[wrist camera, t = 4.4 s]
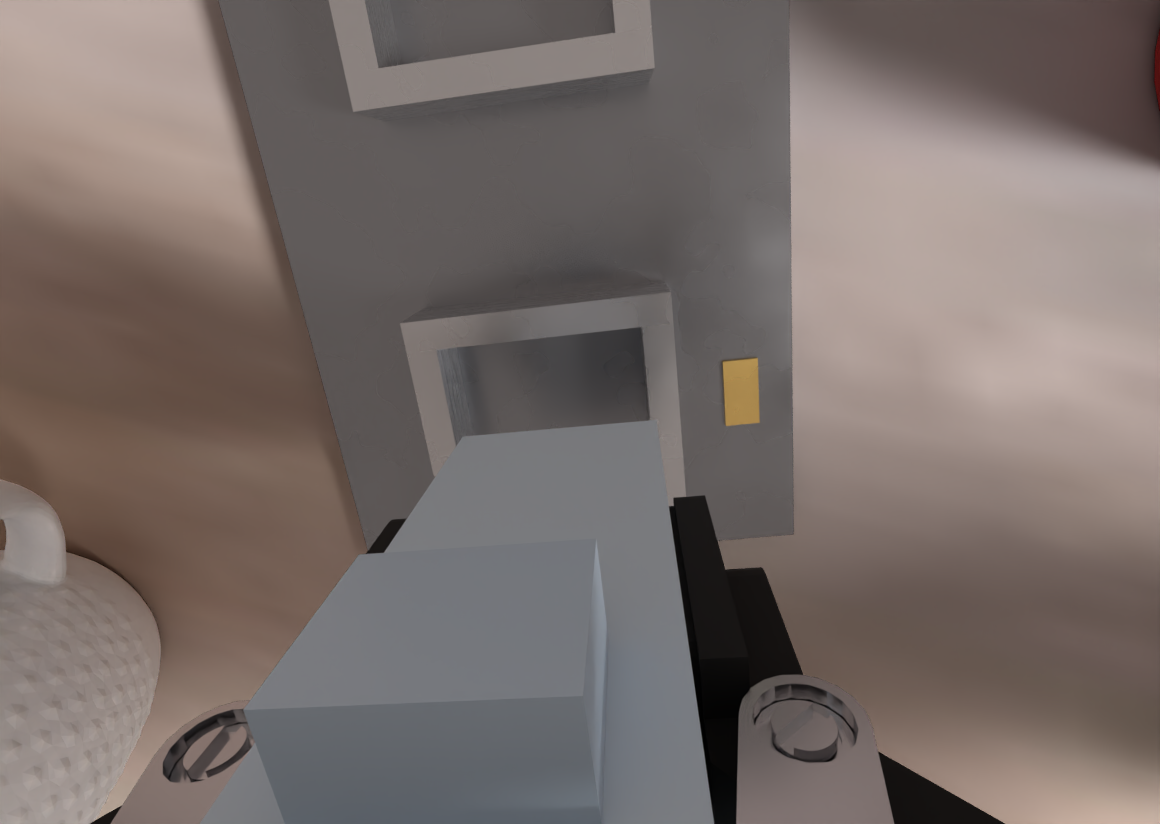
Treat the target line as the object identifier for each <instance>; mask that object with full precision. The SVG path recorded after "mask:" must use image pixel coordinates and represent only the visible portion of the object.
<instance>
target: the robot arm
mask: <svg viewBox="0 0 1160 824" xmlns="http://www.w3.org/2000/svg"><path fill="white" fill-rule="evenodd" d="M673 504H674V506H669V511H670V518H671V525H672V532H673V539H674V546H675V553H676V560H677V567H678V574H679V581H680V588H681V595H682V602H683V609H684V616H685V623H686V630H687V637H688V644H689V651H690V658H691V665H692V672H693V679H694V686H695V693H696V700H697V707H698V714H699V721H700V728H701V735H702V742H703V749H704V756H705V763H706V770H707V777H708V784H709V791H710V798H711V805H712V812H713V819H714V824H1005V823H1003V822H1001V821H999V820H998V819H996V818H994V817H992V816H991V815H989V814H987V813H985V812H984V811H982V810H980V809H978V808H977V807H975V806H973V805H971V804H969V803H968V802H966V801H964V800H962V799H961V798H959V797H957V796H955V795H954V794H952V793H950V792H948V791H947V790H945V789H943V788H941V787H940V786H938V785H936V784H934V783H932V782H931V781H929V780H927V779H925V778H924V777H922V776H920V775H918V774H917V773H915V772H913V771H911V770H910V769H908V768H906V767H904V766H903V765H901V764H899V763H897V762H896V761H894V760H892V759H890V758H888V757H887V756H885V755H883V754H881V753H880V752H878V749H877V744H876V740H875V736H874V731H873V727H872V725H871V722H870V720H869V718H868V715H867V713H866V711H865V710H864V709H863V708H862V706H861V705H860V704H859V703H858V702H857V701H856V699H855V698H854V697H853V696H851V695H850V694H848V693H847V692H845V691H844V690H842V689H841V688H840V687H838V686H836V685H834V684H832V683H829V682H827V681H824V680H822V679H819V678H815V677H810V676H804V675H803V673H802V670H801V668H800V665H799V662H798V660H797V657H796V654H795V652H794V649H793V646H792V644H791V641H790V638H789V635H788V633H787V630H786V627H785V625H784V622H783V619H782V617H781V614H780V611H779V609H778V606H777V603H776V601H775V598H774V595H773V593H772V590H771V587H770V585H769V582H768V579H767V577H766V574H765V572H764V570H763V569H762V568H761V567H760V568H745V569H729V570H725V567H724V564H723V560H722V556H721V553H720V549H719V545H718V541H717V538H716V534H715V530H714V527H713V523H712V519H711V515H710V512H709V508H708V504H707V501H706V497H705V495H702V496H689V497H676V498H673ZM406 519H407V518H406ZM406 519H393V520H391V521H390V522H389V523H388V524H387V525H386V527H385V528H384V529H383V531H382V532H381V534H380V535H379V536H378V538H377V539H376V540H375V542H374V543H373V545H372V546H371V547H370V549H369V550H368V552H367V553H366V554H374V553H384V552H385V550H386V549H387V547H388V546H389V544H390V543H391V542H392V540H393V539H394V537H395V536H396V534H397V533H398V531H399V530H400V528H401V527H402V525H403V524H404V522H405V521H406ZM249 701H250V700H246V701H236V702H232V703H229V704H225V705H221V706H218V707H216V708H214V709H212V710H210V711H208V712H205V713H203V714H201V715H199V716H198V717H196V718H195V719H193V720H192V721H190V722H188V723H187V724H185V725H184V726H182V727H181V728H180V729H179V730H178V731H177V732H175V733H174V734H173V735H172V736H171V737H170V738H168V739H167V740H166V742H165V743H164V744H163V745H162V747H161V748H160V749H159V750H158V751H157V753H156V754H155V755H154V757H153V758H152V760H151V762H150V763H149V765H148V766H147V768H146V769H145V771H144V772H143V774H142V775H141V777H140V779H139V780H138V782H137V783H136V785H135V786H134V788H133V789H132V791H131V793H130V794H129V796H128V797H127V799H126V800H125V802H124V803H123V805H122V806H120V807H118V808H116V809H115V810H113V811H111V812H109V813H108V814H106V815H104V816H102V817H101V818H99V819H97V820H95V821H94V822H92V823H90V824H200V823H201V821H202V820H203V818H204V817H205V815H206V814H207V812H208V811H209V809H210V808H211V806H212V805H213V803H214V802H215V801H216V799H217V798H218V796H219V795H220V793H221V792H222V790H223V789H224V787H225V786H226V784H227V783H228V781H229V780H230V778H231V777H232V776H233V774H234V773H235V771H236V770H237V768H238V767H239V765H240V764H241V762H242V761H243V759H244V758H245V756H246V755H247V753H248V752H249V751H250V749H251V748H252V746H253V745H254V743H255V741H254V738H253V736H252V733H251V730H250V728H249V725H248V722H247V719H246V717H245V714H244V711H243V709H244V708H245V707H246V705H247V704H248V703H249Z"/></svg>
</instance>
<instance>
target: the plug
mask: <svg viewBox="0 0 1160 824" xmlns="http://www.w3.org/2000/svg"><path fill="white" fill-rule="evenodd" d="M243 711H244V714H245V717H246V719H247V722H248V725H249V728H250V730H251V733H252V736H253V738H254V741H255V743H254V745H253V746H252V748H251V749H250V751H249V752H248V753H247V755H246V756H245V758H244V759H243V761H242V762H241V764H240V765H239V767H238V768H237V770H236V771H235V773H234V774H233V776H232V777H231V778H230V780H229V781H228V783H227V784H226V786H225V787H224V789H223V790H222V792H221V793H220V795H219V796H218V798H217V799H216V801H215V802H214V803H213V805H212V806H211V808H210V809H209V811H208V812H207V814H206V815H205V817H204V818H203V820H202V821H201V823H200V824H714V819H713V812H712V805H711V798H710V791H709V784H708V777H707V770H706V763H705V756H704V749H703V742H702V735H701V728H700V721H699V714H698V707H697V700H696V693H695V686H694V679H693V672H692V665H691V658H690V651H689V644H688V637H687V630H686V623H685V616H684V609H683V602H682V595H681V588H680V581H679V574H678V567H677V560H676V553H675V546H674V539H673V532H672V525H671V518H670V511H669V504H668V497H667V490H666V483H665V476H664V469H663V462H662V455H661V448H660V441H659V434H658V427H657V420H649V421H637V422H625V423H614V424H602V425H591V426H579V427H568V428H556V429H545V430H533V431H521V432H510V433H498V434H487V435H475V436H464V437H462V438H461V440H460V441H459V443H458V444H457V446H456V447H455V449H454V450H453V452H452V453H451V455H450V456H449V458H448V459H447V461H446V462H445V463H444V465H443V466H442V468H441V469H440V471H439V472H438V474H437V475H436V477H435V478H434V480H433V481H432V483H431V484H430V486H429V487H428V489H427V490H426V491H425V493H424V494H423V496H422V497H421V499H420V500H419V502H418V503H417V505H416V506H415V508H414V509H413V511H412V512H411V514H410V515H409V516H408V518H407V519H406V521H405V522H404V524H403V525H402V527H401V528H400V530H399V531H398V533H397V534H396V536H395V537H394V539H393V540H392V542H391V543H390V544H389V546H388V547H387V549H386V550H385V552H384V553H374V554H359V555H358V557H357V558H356V559H355V561H354V562H353V563H352V565H351V566H350V567H349V569H348V570H347V571H346V573H345V574H344V575H343V577H342V578H341V579H340V581H339V582H338V583H337V585H336V586H335V587H334V589H333V590H332V591H331V593H330V594H329V595H328V597H327V598H326V599H325V601H324V602H323V603H322V605H321V606H320V607H319V609H318V610H317V612H316V613H315V614H314V616H313V617H312V618H311V620H310V621H309V622H308V624H307V625H306V626H305V628H304V629H303V630H302V632H301V633H300V634H299V636H298V637H297V638H296V640H295V641H294V642H293V644H292V645H291V646H290V648H289V649H288V650H287V652H286V653H285V654H284V656H283V657H282V658H281V660H280V661H279V662H278V664H277V665H276V666H275V668H274V669H273V671H272V672H271V673H270V675H269V676H268V677H267V679H266V680H265V681H264V683H263V684H262V685H261V687H260V688H259V689H258V691H257V692H256V693H255V695H254V696H253V697H252V699H251V700H250V701H249V703H248V704H247V705H246V707H245V708H244V709H243Z"/></svg>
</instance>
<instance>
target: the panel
mask: <svg viewBox="0 0 1160 824" xmlns="http://www.w3.org/2000/svg"><path fill="white" fill-rule="evenodd" d="M218 1H219V4H220V8H221V12H222V15H223V19H224V23H225V26H226V30H227V34H228V38H229V41H230V45H231V49H232V52H233V56H234V60H235V63H236V67H237V71H238V74H239V78H240V82H241V85H242V89H243V93H244V96H245V100H246V104H247V107H248V111H249V115H250V118H251V122H252V126H253V129H254V133H255V137H256V140H257V144H258V148H259V152H260V155H261V159H262V163H263V166H264V170H265V174H266V177H267V181H268V185H269V188H270V192H271V196H272V199H273V203H274V207H275V210H276V214H277V218H278V221H279V225H280V229H281V232H282V236H283V240H284V243H285V247H286V251H287V254H288V258H289V262H290V265H291V269H292V273H293V277H294V280H295V284H296V288H297V291H298V295H299V299H300V302H301V306H302V310H303V313H304V317H305V321H306V324H307V328H308V332H309V335H310V339H311V343H312V346H313V350H314V354H315V357H316V361H317V365H318V368H319V372H320V376H321V379H322V383H323V387H324V391H325V394H326V398H327V402H328V405H329V409H330V413H331V416H332V420H333V424H334V427H335V431H336V435H337V438H338V442H339V446H340V449H341V453H342V457H343V460H344V464H345V468H346V471H347V475H348V479H349V482H350V486H351V490H352V493H353V497H354V501H355V504H356V508H357V512H358V516H359V519H360V523H361V527H362V530H363V534H364V538H365V541H366V545H367V549H368V550H369V549H370V547H371V546H372V545H373V543H374V542H375V540H376V539H377V538H378V536H379V535H380V534H381V532H382V531H383V529H384V528H385V527H386V525H387V524H388V523H389V522H390V521H391V520H393V519H406V518H408V516H409V515H410V514H411V512H412V511H413V509H414V508H415V506H416V505H417V503H418V502H419V500H420V499H421V497H422V496H423V494H424V493H425V491H426V490H427V489H428V487H429V486H430V484H431V483H432V481H433V480H434V478H435V477H436V475H437V474H438V472H439V471H440V469H441V468H442V466H443V465H444V463H445V462H446V461H447V459H448V458H449V456H450V455H451V453H452V452H453V450H454V449H455V447H456V446H457V444H458V443H459V441H460V440H461V438H462V437H464V436H475V435H487V434H498V433H510V432H521V431H533V430H545V429H556V428H568V427H579V426H591V425H602V424H614V423H625V422H637V421H649V420H657V427H658V434H659V441H660V448H661V455H662V462H663V469H664V476H665V483H666V490H667V497H668V504H669V506H674V504H673V498H676V497H689V496H702V495H705V497H706V501H707V504H708V508H709V512H710V515H711V519H712V523H713V527H714V530H715V534H716V538H717V541H720V540H732V539H744V538H756V537H768V536H780V535H792V534H794V517H793V406H792V295H791V183H790V72H789V0H218Z"/></svg>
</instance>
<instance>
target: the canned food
mask: <svg viewBox="0 0 1160 824" xmlns="http://www.w3.org/2000/svg"><path fill="white" fill-rule="evenodd" d="M1154 83H1155V88H1156V94H1157V99H1158V105H1159V110H1160V30H1159V35H1158V40H1157V45H1156V50H1155V79H1154Z"/></svg>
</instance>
